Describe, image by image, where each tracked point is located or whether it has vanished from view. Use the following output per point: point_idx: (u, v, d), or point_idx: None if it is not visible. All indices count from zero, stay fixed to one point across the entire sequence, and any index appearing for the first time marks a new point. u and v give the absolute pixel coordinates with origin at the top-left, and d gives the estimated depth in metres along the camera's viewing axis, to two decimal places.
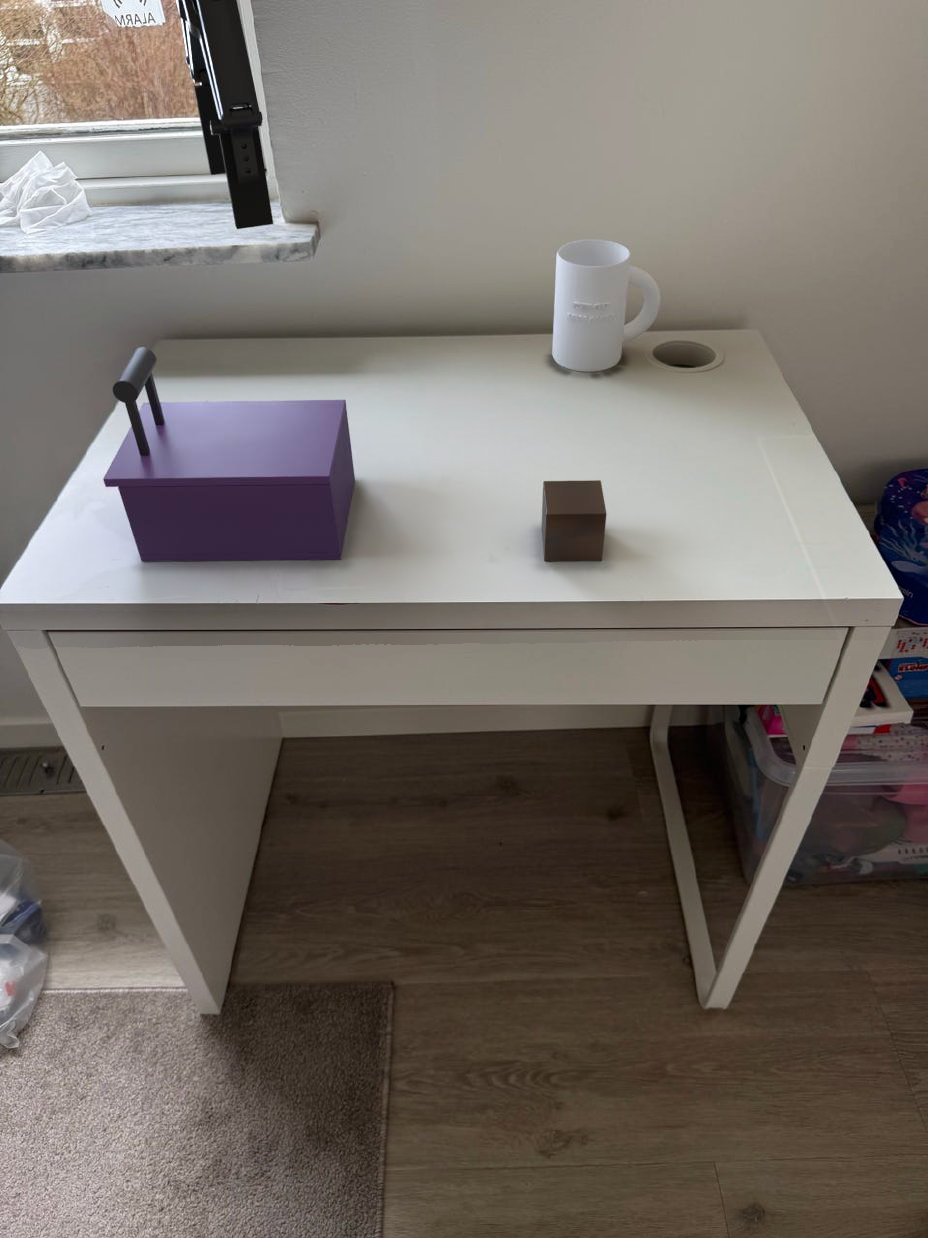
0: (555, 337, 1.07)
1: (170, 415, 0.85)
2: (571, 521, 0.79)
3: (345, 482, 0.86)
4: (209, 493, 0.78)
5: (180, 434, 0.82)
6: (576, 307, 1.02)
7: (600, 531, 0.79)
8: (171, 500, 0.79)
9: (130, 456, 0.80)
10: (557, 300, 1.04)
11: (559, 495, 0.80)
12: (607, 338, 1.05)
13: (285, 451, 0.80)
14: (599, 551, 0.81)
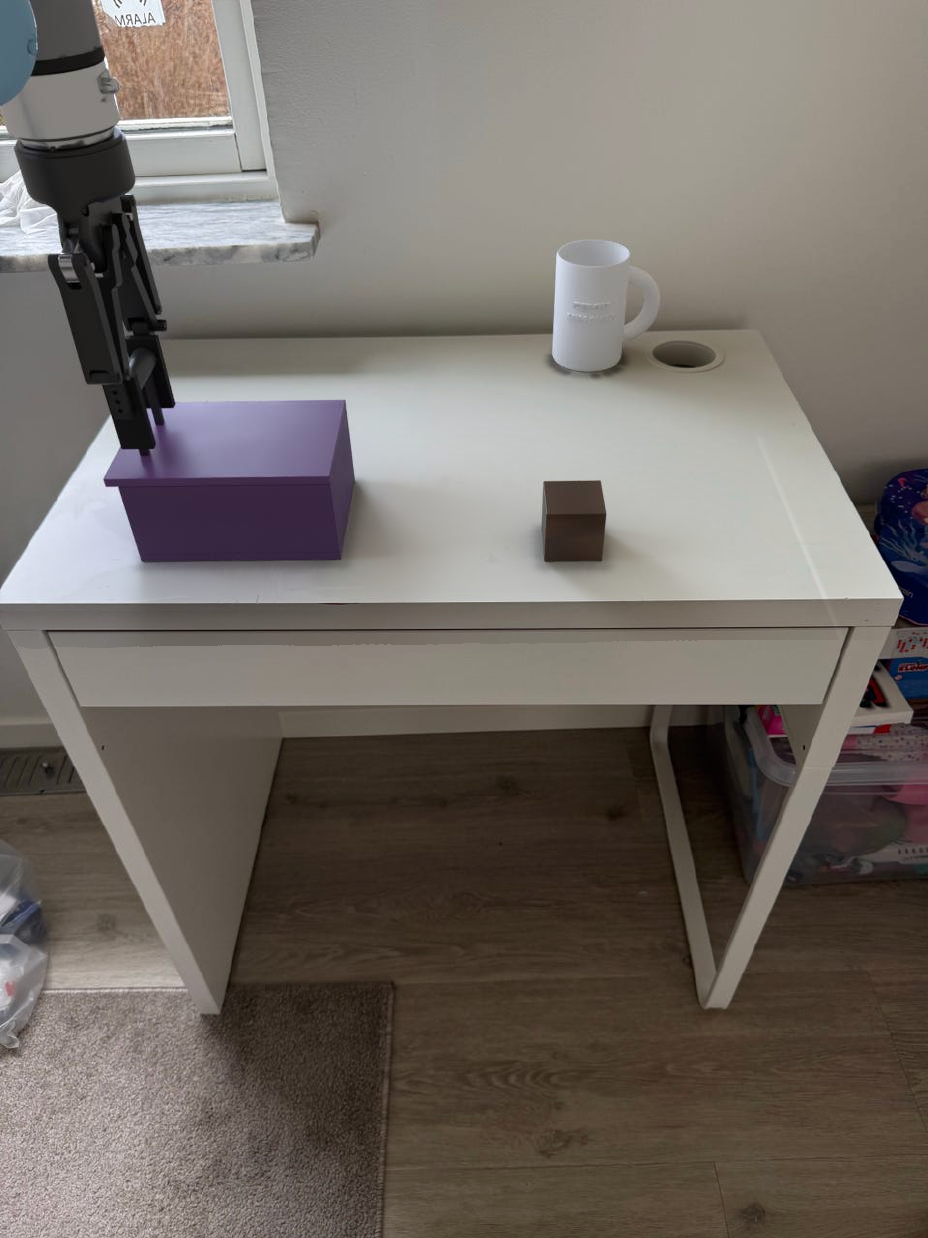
0: (555, 337, 1.07)
1: (170, 415, 0.85)
2: (571, 521, 0.79)
3: (345, 482, 0.86)
4: (209, 493, 0.78)
5: (180, 434, 0.82)
6: (576, 307, 1.02)
7: (600, 531, 0.79)
8: (171, 500, 0.79)
9: (130, 456, 0.80)
10: (557, 300, 1.04)
11: (559, 495, 0.80)
12: (607, 338, 1.05)
13: (285, 451, 0.80)
14: (599, 551, 0.81)
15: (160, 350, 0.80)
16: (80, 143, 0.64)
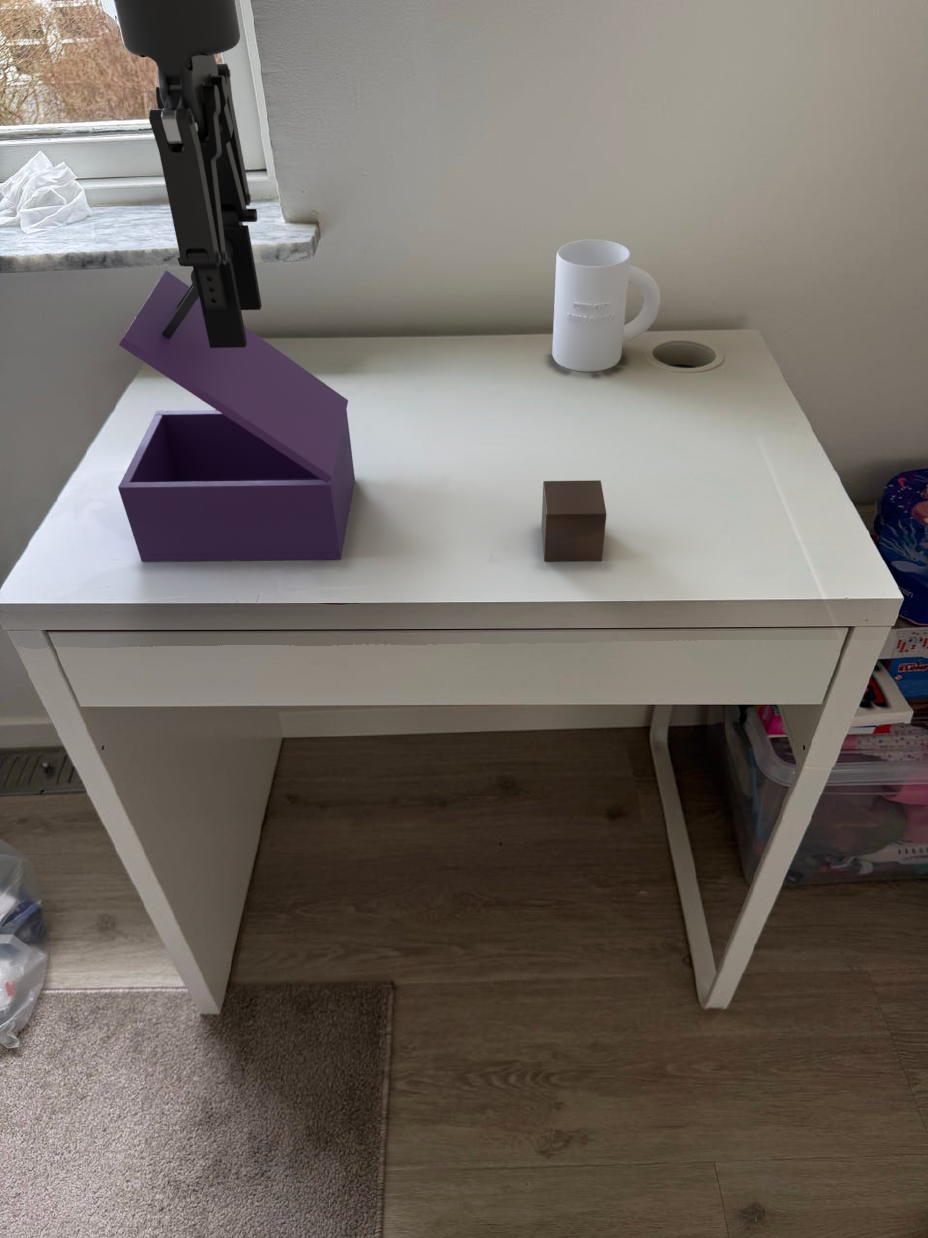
0: (555, 337, 1.07)
1: None
2: (571, 521, 0.79)
3: (345, 482, 0.86)
4: (209, 493, 0.78)
5: (201, 335, 0.76)
6: (576, 307, 1.02)
7: (600, 531, 0.79)
8: (171, 500, 0.79)
9: (151, 328, 0.72)
10: (557, 300, 1.04)
11: (559, 495, 0.80)
12: (607, 338, 1.05)
13: (296, 423, 0.78)
14: (599, 551, 0.81)
15: (250, 242, 0.74)
16: None
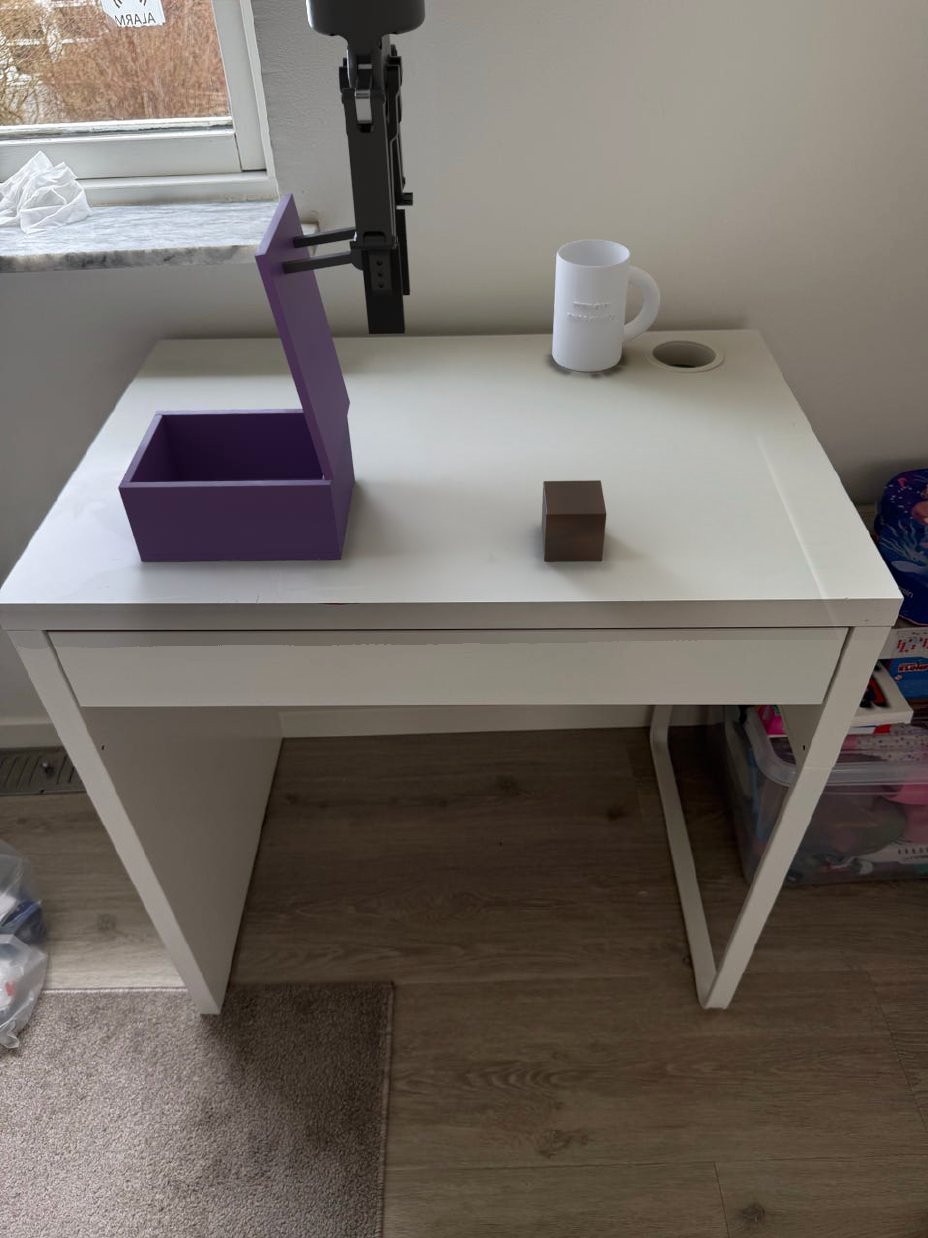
0: (555, 337, 1.07)
1: None
2: (571, 521, 0.79)
3: (345, 482, 0.86)
4: (209, 493, 0.78)
5: (298, 281, 0.73)
6: (576, 307, 1.02)
7: (600, 531, 0.79)
8: (171, 500, 0.79)
9: (278, 254, 0.68)
10: (557, 300, 1.04)
11: (559, 495, 0.80)
12: (607, 338, 1.05)
13: (326, 411, 0.77)
14: (599, 551, 0.81)
15: (405, 227, 0.73)
16: None
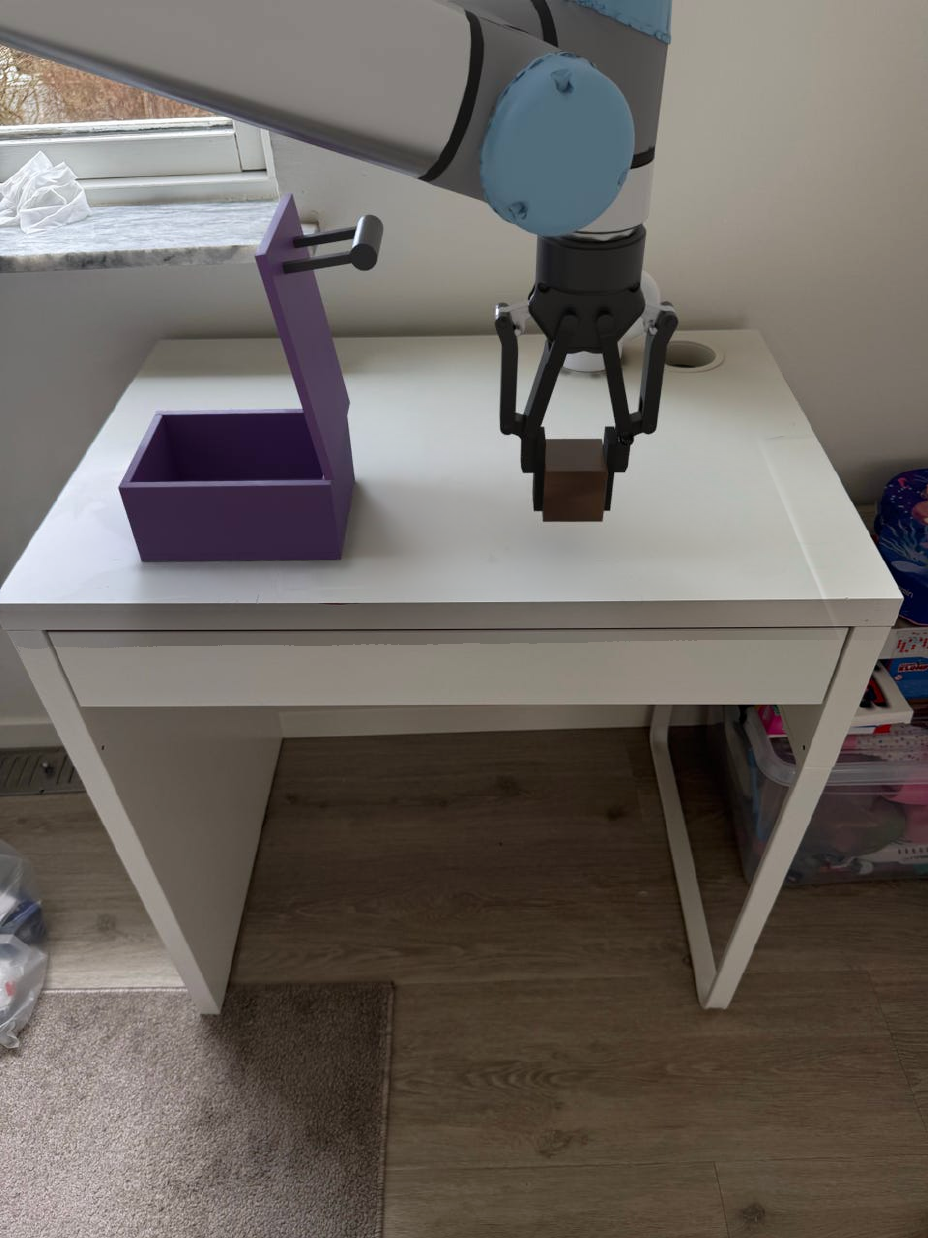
0: None
1: None
2: (571, 479, 0.76)
3: (345, 482, 0.86)
4: (209, 493, 0.78)
5: (298, 281, 0.73)
6: None
7: (601, 489, 0.77)
8: (171, 500, 0.79)
9: (278, 254, 0.68)
10: None
11: (559, 452, 0.77)
12: None
13: (326, 411, 0.77)
14: (599, 511, 0.78)
15: None
16: None
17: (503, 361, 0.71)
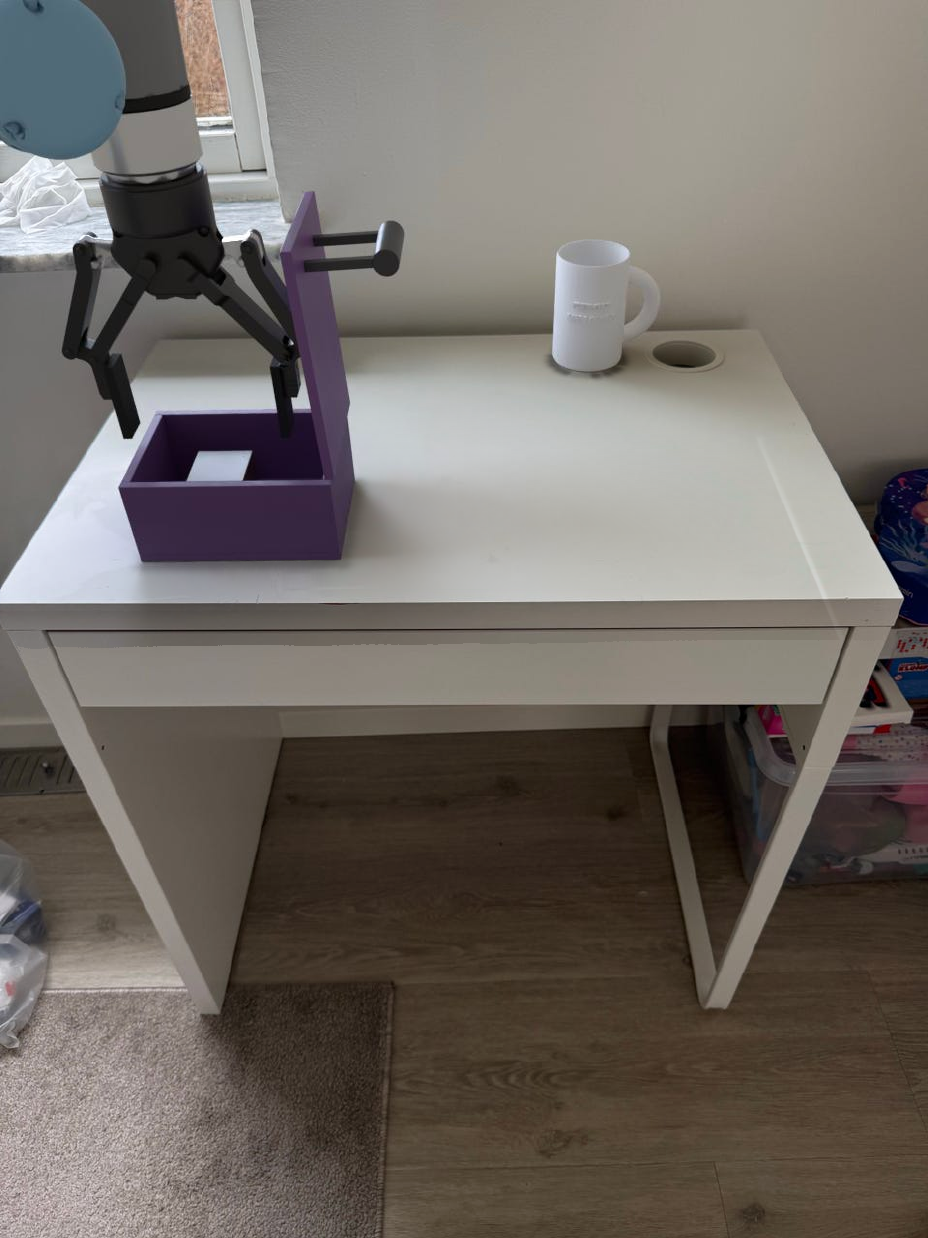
0: (555, 337, 1.07)
1: None
2: None
3: (345, 482, 0.86)
4: (209, 493, 0.78)
5: (315, 280, 0.73)
6: (576, 307, 1.02)
7: None
8: (171, 500, 0.79)
9: (301, 252, 0.68)
10: (557, 300, 1.04)
11: (207, 464, 0.84)
12: (607, 338, 1.05)
13: (331, 411, 0.77)
14: None
15: None
16: None
17: (75, 286, 0.72)
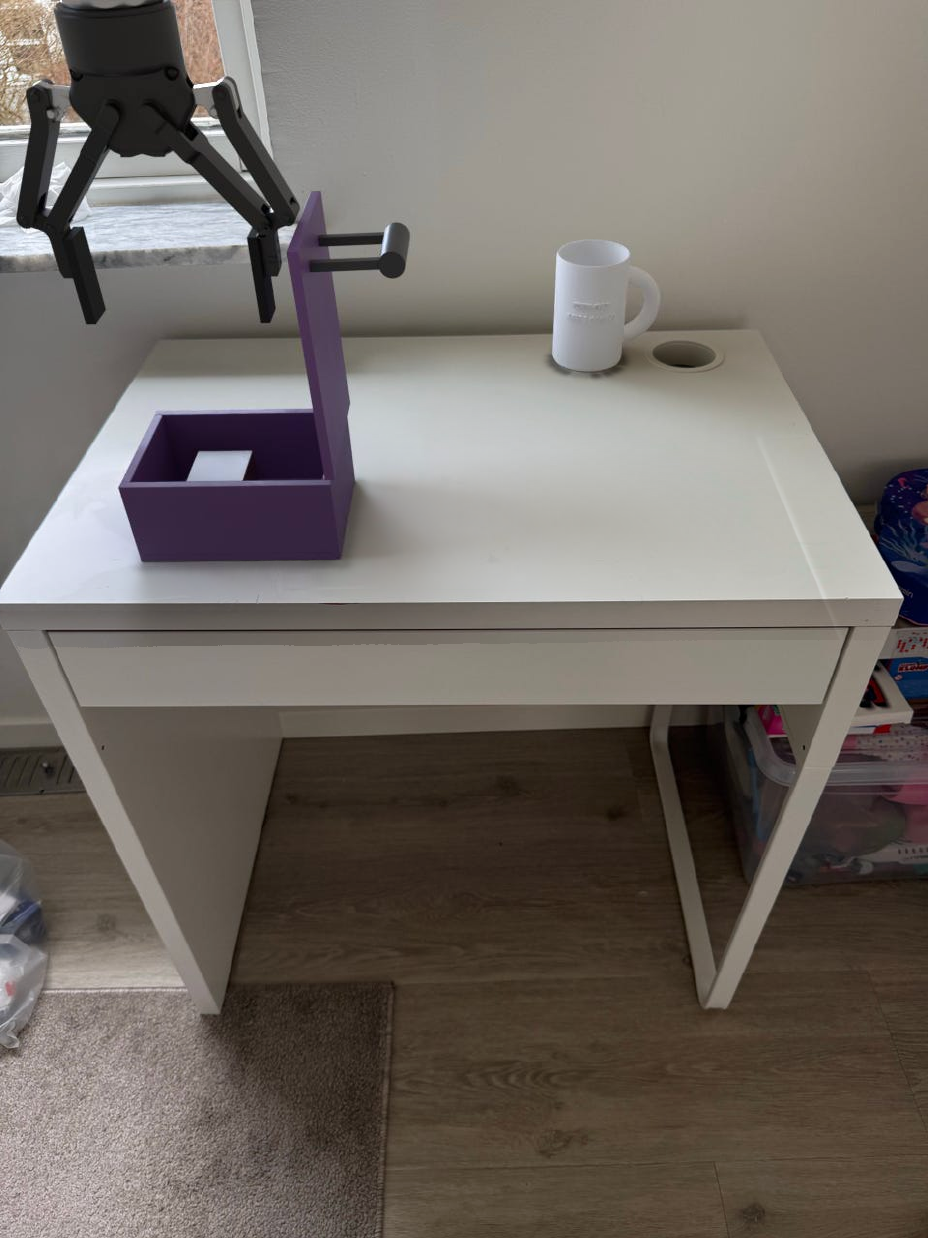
0: (555, 337, 1.07)
1: None
2: None
3: (345, 482, 0.86)
4: (209, 493, 0.78)
5: (320, 279, 0.73)
6: (576, 307, 1.02)
7: None
8: (171, 500, 0.79)
9: (307, 252, 0.68)
10: (557, 300, 1.04)
11: (207, 464, 0.84)
12: (607, 338, 1.05)
13: (333, 411, 0.77)
14: None
15: None
16: None
17: (30, 140, 0.65)
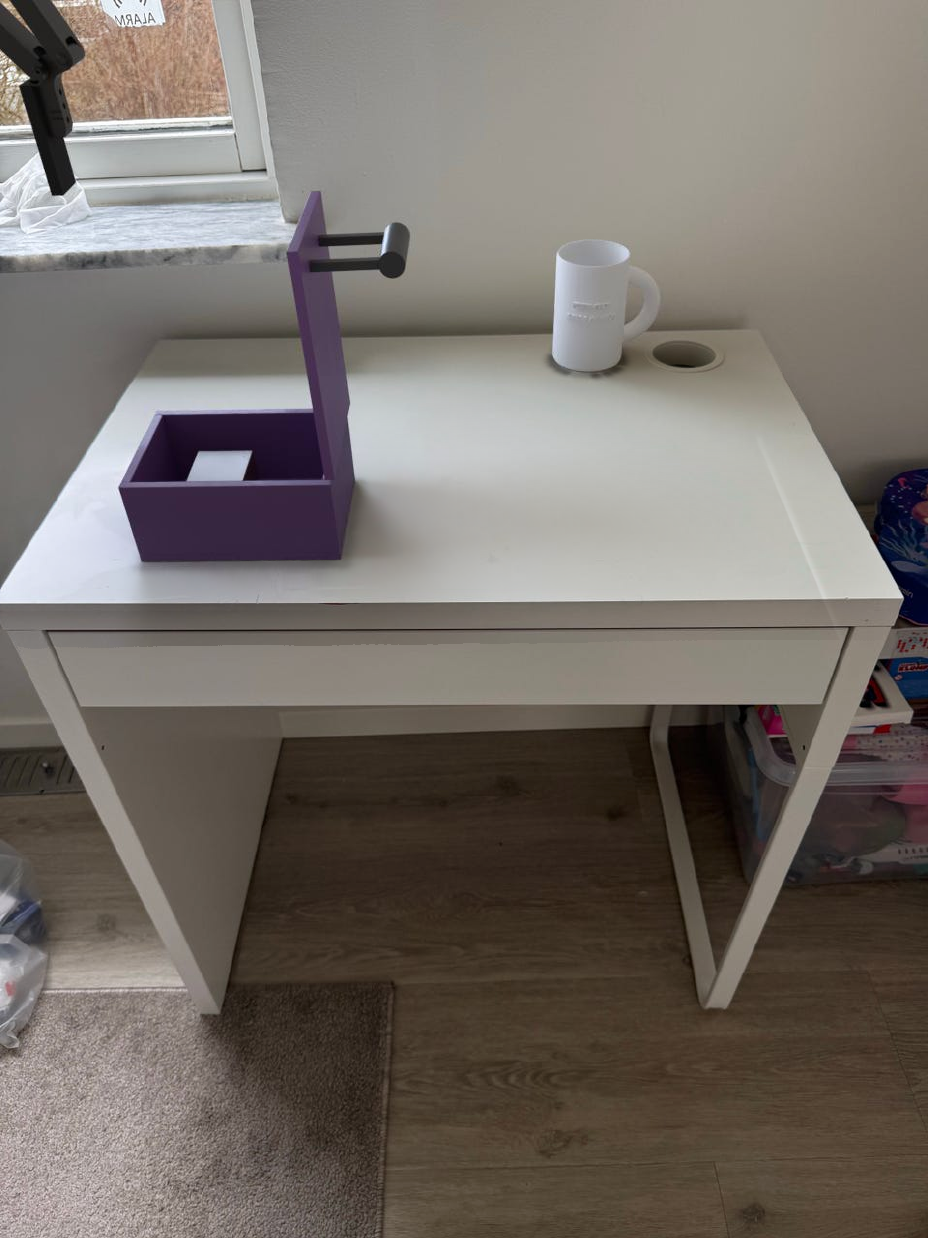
0: (555, 337, 1.07)
1: None
2: None
3: (345, 482, 0.86)
4: (209, 493, 0.78)
5: (320, 279, 0.73)
6: (576, 307, 1.02)
7: None
8: (171, 500, 0.79)
9: (307, 252, 0.68)
10: (557, 300, 1.04)
11: (207, 464, 0.84)
12: (607, 338, 1.05)
13: (333, 411, 0.77)
14: None
15: None
16: None
17: None
